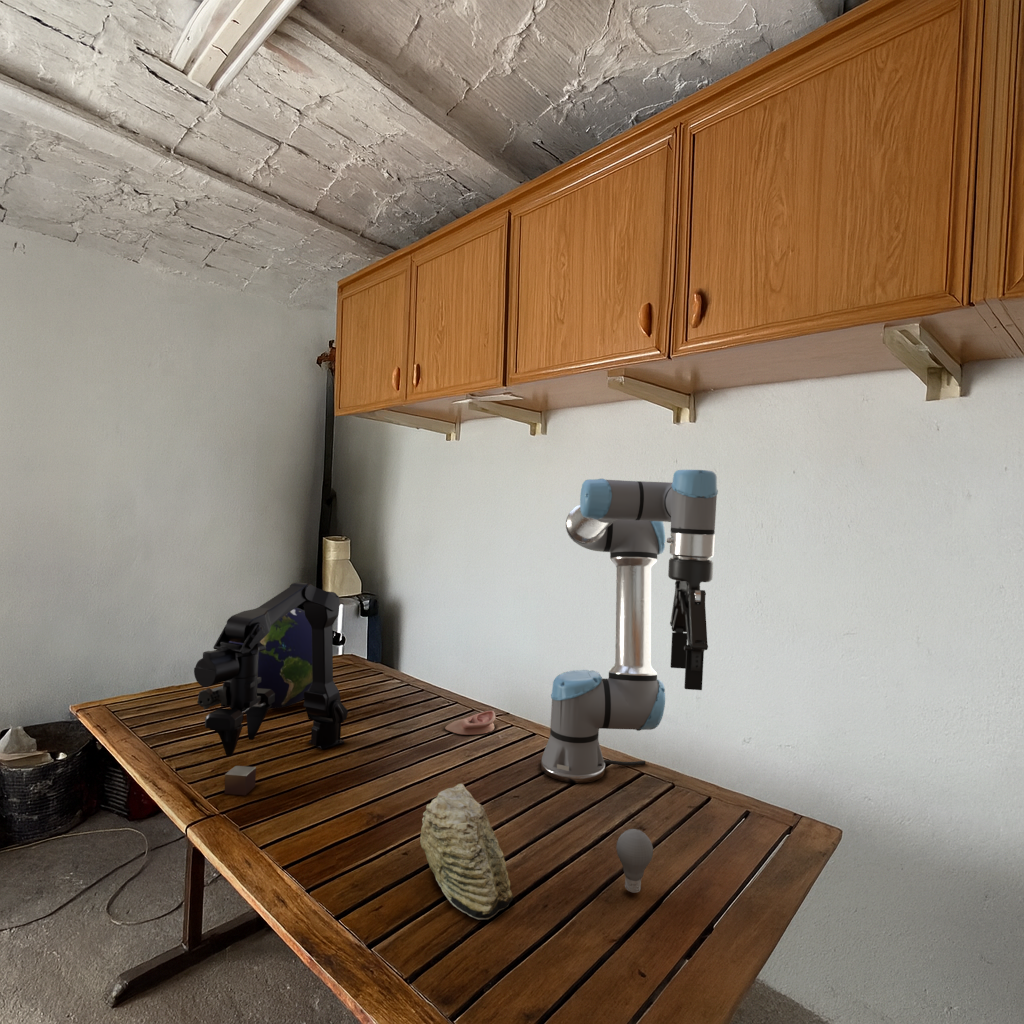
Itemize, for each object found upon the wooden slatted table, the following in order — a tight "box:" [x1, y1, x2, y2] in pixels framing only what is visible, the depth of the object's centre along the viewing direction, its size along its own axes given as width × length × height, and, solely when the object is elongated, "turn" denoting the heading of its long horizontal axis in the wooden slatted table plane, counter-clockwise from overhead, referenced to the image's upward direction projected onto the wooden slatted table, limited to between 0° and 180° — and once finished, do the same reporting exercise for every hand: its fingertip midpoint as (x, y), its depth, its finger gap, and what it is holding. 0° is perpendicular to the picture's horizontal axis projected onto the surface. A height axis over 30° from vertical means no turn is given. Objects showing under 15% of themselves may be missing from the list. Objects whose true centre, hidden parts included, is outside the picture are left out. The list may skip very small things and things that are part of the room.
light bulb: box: [615, 828, 654, 894], centre depth 106 cm, size 6×6×10 cm
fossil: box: [419, 783, 514, 921], centre depth 104 cm, size 9×18×15 cm, turn 45°
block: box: [224, 765, 257, 796], centre depth 135 cm, size 4×5×4 cm
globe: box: [229, 607, 312, 710], centre depth 188 cm, size 30×30×30 cm
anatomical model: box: [444, 710, 496, 736], centre depth 177 cm, size 13×4×12 cm
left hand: (240, 747), depth 135 cm, fingers open, 9 cm apart
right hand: (685, 678), depth 112 cm, fingers open, 13 cm apart
